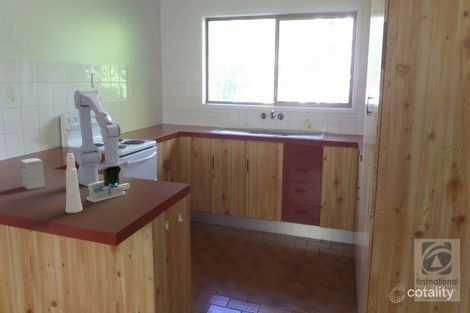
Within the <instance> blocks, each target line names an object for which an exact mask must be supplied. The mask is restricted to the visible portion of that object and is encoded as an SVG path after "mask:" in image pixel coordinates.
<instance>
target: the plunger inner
mask: <svg viewBox="0 0 470 313" xmlns="http://www.w3.org/2000/svg"><path fill="white" fill-rule="evenodd" d="M117 185H118V183H116V184H111V183H109V186H110V188H111V189H114V188H117Z"/></svg>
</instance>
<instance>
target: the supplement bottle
mask: <svg viewBox="0 0 470 313" xmlns="http://www.w3.org/2000/svg"><path fill="white" fill-rule="evenodd" d="M102 173H103V181H104V187H107V186H109V183H110V180H109V177H108V175H107V173H106V171H105V170H104V169H103V170H102ZM120 179H121V178H120V173H119V174H118V177H117V181H116V183H118V185H121V184H120ZM104 187H103V188H104Z"/></svg>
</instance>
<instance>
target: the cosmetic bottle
mask: <svg viewBox="0 0 470 313" xmlns="http://www.w3.org/2000/svg"><path fill="white" fill-rule="evenodd" d="M65 159H66V160H65V161H66V169H65V183H66V184H65V188H66V190H65V191H66V193H65V194H66V196H65V197H66V198H65V201H66V204H65V212H66V213H68V214H75V213H79V212H82V211H83V210H84V209H83V205H82V200H81V194H80V187H79V186H80V185H79V183H78V181H79V178H78V169H77V168H76V162H75V161H76V160H75V155H74V152H67V153H66V156H65Z"/></svg>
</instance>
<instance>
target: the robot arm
mask: <svg viewBox="0 0 470 313" xmlns="http://www.w3.org/2000/svg"><path fill="white" fill-rule="evenodd" d="M73 102H74V108H75V109H76V110H78V115H79V125H80V133H81V145H80V146H79V147H78V148H77V149H76V160H75V161H76V162H77V164H78V165H79V167H78V169H77V177H78V185H79V184H80V185H83V186H84V187H88V184H92V183H96V182H101V181H102V180H99V173H98V172H100V171H101V170H102V171H104V170H105V171H106V173H107V175H108V177H109V180H110V183H111V184H116V181H117V177H118V174H119V175H120V172H121V170H122V168H121V167H122V166H128V165H129V160H127V159H125V160H123V159H122V160H120V152H119V151H120V148H119V138H120V136H121V133H122V132H121V128H120V127H121V126H120V124H119V123H116V122H114V121H113V119H112V117H111V115H110V114H109V113H108V112H107V111H104V108H103V106H102V104H101V94H100V92H99V90H97V89H94V90H93V89H92V90H90V89H89V90H84V89H83V90H80V89H79V90H78V89H77V90H75V91H74V95H73ZM91 111H93V113H94V114H95V121H96V122H97V124H98V126H99V128H100V135H101V138H102V143H103V145H104V146H103V147H104V148H103V149H104V162H103V163H101V161H102V154H101V151H100V148H99V147H98V146H96V144H95V143H94V134H93V127H92V126H93V124H92V115H91V113H92V112H91Z"/></svg>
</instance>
